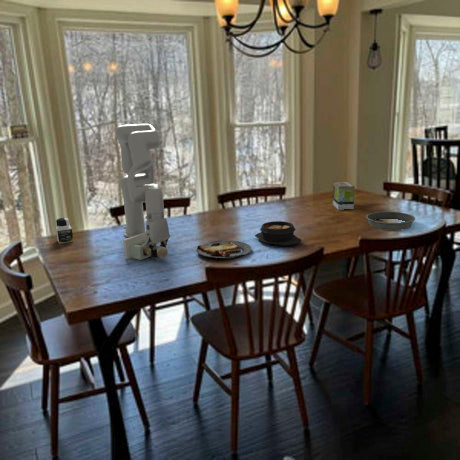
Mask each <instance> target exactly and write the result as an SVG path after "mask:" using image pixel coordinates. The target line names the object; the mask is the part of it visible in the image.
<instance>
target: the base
mask: <svg viewBox="0 0 460 460" xmlns="http://www.w3.org/2000/svg"><path fill="white" fill-rule="evenodd" d="M145 239H146V232H145V233H142V234H139V235H136V236H133V237H126V238H124V239H123V243H122V244H123V250H124V251H123V253H124V258H125V260H129V259H132V258H131V253H130V245H131V244H133V243H136V242H139V241H142V240H145Z"/></svg>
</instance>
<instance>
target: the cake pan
mask: <svg viewBox="0 0 460 460" xmlns="http://www.w3.org/2000/svg"><path fill="white" fill-rule="evenodd" d="M365 219H367V222H368V225H369V224H370V225H371V226H370V225H369V226H370V227H372V226H374V227H377V228H376V229H378V228H382V229H381V230H384V229H390V230H389V231H402V230H401V229H404V230H408V229H410V228H411V227H412V225H413V222H414V221H415V220H416V217H415V216H414V215H411V214H409V213H406V212H401V211H375V212H370V213H368V214H366V216H365ZM375 219H398V220H402V221H405V222H401V223H387V222H383V221H380V220H375ZM374 220H375V221H374ZM374 227H373V228H374Z"/></svg>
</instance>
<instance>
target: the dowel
mask: <svg viewBox="0 0 460 460" xmlns="http://www.w3.org/2000/svg"><path fill="white" fill-rule="evenodd" d="M139 245H140V246H143V254H147V255H151V249H149V247H148V246H146V245H145V243H140V244H139ZM152 246H153V245H152ZM156 249H157V258H161V259H165V258H166V257H167V255H168V248H167V247H166V248H165V247H161V246H160V245H156Z"/></svg>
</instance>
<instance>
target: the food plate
mask: <svg viewBox="0 0 460 460" xmlns="http://www.w3.org/2000/svg"><path fill="white" fill-rule="evenodd" d="M251 250H252V246H251V245H250V244H249V243H247V242H243V241H239V240H221V239H220V240H213V241H210V242H207V243H203V244H199V245H197V247H196V253H198V254H199V255H200V256H203V257H207V258H212V259H218V258H219V259H234V258H237V257H239V256H243V255H244V256H245V255H247V254H249V253H250V252H252V251H251Z"/></svg>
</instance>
